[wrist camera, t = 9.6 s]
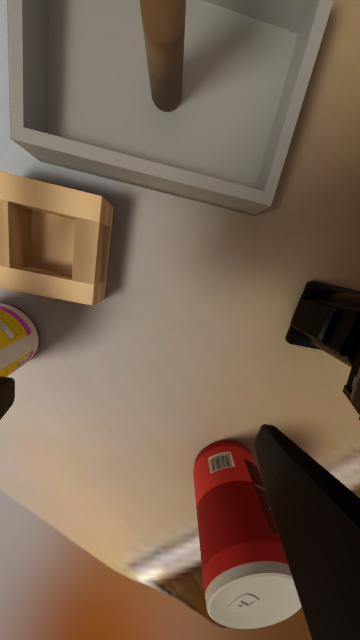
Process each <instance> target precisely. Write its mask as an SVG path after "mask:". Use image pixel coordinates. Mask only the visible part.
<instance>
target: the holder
mask: <svg viewBox="0 0 360 640" xmlns="http://www.w3.org/2000/svg"><path fill="white" fill-rule="evenodd" d="M113 213H114V207H113V206H112V205H111V204H110V203H109V202H108V201H106V200H105V199H104V198H103V197H102V196H99V195H95V194H91V193H87V192H83V191H79V190H75V189H70V188H66V187H62V186H58V185H54V184H50V183H46V182H42V181H38V180H34V179H29V178H25V177H21V176H17V175H13V174H9V173H5V172H1V171H0V288H4V289H9V290H14V291H19V292H25V293H30V294H35V295H40V296H45V297H51V298H56V299H61V300H66V301H71V302H77V303H82V304H87V305H94V304H96V303H98V302H99V301H101V300H103V299H104V298H105V289H106V279H107V270H108V260H109V251H110V241H111V232H112V222H113Z"/></svg>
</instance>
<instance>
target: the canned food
mask: <svg viewBox="0 0 360 640" xmlns="http://www.w3.org/2000/svg"><path fill="white" fill-rule="evenodd" d="M193 474H194V485H195V496H196V507H197V518H198V529H199V540H200V550H201V561H202V572H203V581H204V590H205V600H206V603H207V611H208V614H209V616H210V617H211V618H212V619H213V620H215V621H216V622H218V623H219V624H222V625H224V626H227V627H231V628H239V629H252V628H260V627H265V626H269V625H272V624H275V623H278V622H280V621H283V620H285V619H286V618H288V617H290V616H292V615H293V614H294V613H296V612H297V611H298V610H299V609H300V607H302V606H301V603H300V600H299V597H298V594H297V591H296V587H295V584H294V581H293V578H292V575H291V572H290V569H289V565H288V562H287V559H286V556H285V553H284V550H283V547H282V544H281V540H280V537H279V534H278V531H277V528H276V525H275V522H274V518H273V515H272V512H271V509H270V506H269V503H268V499H267V496H266V492H265V488H264V484H263V480H262V477H261V475H260V472H259V470H258V467H257V465H256V463H255V460H254V458H253V456H252V455H251V453H250V452H249V451H248V450H247V449H246V448H245V447H244V446H243V445H241V444H239V443H236V442H230V441H224V442H218V443H214V444H212V445H210V446H208V447H206V448H205V449H203V450H202V451H201V452H200V453H199V455H198V456H197V458H196V460H195V465H194V470H193Z"/></svg>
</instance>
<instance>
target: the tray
mask: <svg viewBox="0 0 360 640" xmlns="http://www.w3.org/2000/svg"><path fill="white" fill-rule="evenodd" d="M333 2H334V0H186V17H185V38H184V59H183V80H182V97H181V101H180V103H179V105H178V106H177V108H175V109H174V110H172V111H170V112H165V111H162V110H160V109H159V108H157V107H156V105H155V104H154V102H153V99H152V95H151V88H150V80H149V72H148V64H147V56H146V48H145V40H144V32H143V24H142V16H141V8H140V0H7V21H8V60H9V100H10V139H12V140H13V141H14V142H16V143H17V144H18V145H20V146H21V147H22V148H23V149H25V150H26V151H27V152H29V153H30V154H31V155H33V156H34V157H35V158H37V159H38V160H39V161H41V162H45V163H49V164H53V165H57V166H61V167H65V168H69V169H73V170H77V171H80V172H84V173H88V174H92V175H96V176H100V177H104V178H108V179H112V180H116V181H120V182H124V183H128V184H132V185H136V186H140V187H144V188H148V189H152V190H156V191H160V192H164V193H168V194H171V195H175V196H179V197H183V198H187V199H191V200H195V201H199V202H203V203H207V204H211V205H215V206H219V207H223V208H227V209H231V210H235V211H239V212H243V213H247V214H251V215H256V214H258V213H260V212H262V211H264V210H265V209H267V208H269V207H271V205H272V202H273V198H274V195H275V192H276V189H277V185H278V182H279V179H280V175H281V172H282V169H283V166H284V162H285V159H286V156H287V152H288V149H289V146H290V143H291V139H292V136H293V133H294V129H295V126H296V123H297V120H298V116H299V113H300V110H301V106H302V103H303V100H304V97H305V93H306V90H307V87H308V84H309V80H310V77H311V74H312V70H313V67H314V64H315V61H316V57H317V54H318V51H319V47H320V44H321V41H322V38H323V34H324V31H325V28H326V24H327V21H328V18H329V15H330V11H331V8H332V5H333Z"/></svg>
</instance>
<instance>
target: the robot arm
mask: <svg viewBox="0 0 360 640" xmlns="http://www.w3.org/2000/svg"><path fill="white" fill-rule="evenodd" d="M312 285H313V288H311V286H312ZM292 337H293V339H292V340H290V339H291V338H292ZM286 341H287V342H288V343H290V344H294V345H299V346H304V347H309V348H314V349H320V350H323V351H325V352H326V353H328V354H330V355H331V356H333V357H335V358H336V359H338V360H340V361H341V362H343V363H345V364H347V365H348V366H350V367H352V368H351V371H350V375H349V378H348V381H347V384H346V385H344V388H343V392H344V394H345V395H346V397H347V398H348V399H349V401H350V402H351V404H352V405H353V407H354V408H355V409H356V411H357V412H358V414H359V415H360V291H356V290H351V289H347V288H343V287H338V286H334V285H329V284H325V283H320V282H316V281H310V282H308V283H307V284H306V286H305V289H304V292H303V294H302V297H301V299H300V301H299V303H298V306H297V308H296V311H295V313H294V316H293V319H292V321H291V325H290V328H289V330H288V333H287V335H286ZM14 398H15V381H14V379H13V378H9V377H4V376H0V420H1V418H2V417H3V416H4V415H5V413H6V412H7V411H8V409H9V408H10V407H11V406H12V404H13V402H14ZM359 420H360V417H359ZM255 450H256V454H257V459H258V463H259V467H260V472H261V476H262V480H263V484H264V488H265V492H266V496H267V499H268V503H269V506H270V509H271V512H272V515H273V518H274V522H275V525H276V528H277V531H278V534H279V537H280V540H281V544H282V547H283V550H284V553H285V556H286V559H287V562H288V565H289V569H290V572H291V575H292V578H293V581H294V584H295V587H296V591H297V594H298V597H299V600H300V603H301V606H302V609H303V612H304V616H305V619H306V622H307V625H308V628H309V631H310V634H311V638H312V640H360V498H359V497H358V496H356V495H355V494H354V493H353V492H352V491H350V490H349V489H348V488H347V487H346V486H345V485H343V484H342V483H341V482H340V481H339V480H337V479H336V478H335V477H334V476H333V475H332V474H330V473H329V472H328V471H327V470H326V469H324V468H323V467H322V466H321V465H320V464H319V463H317V462H316V461H315V460H314V459H313V458H312V457H310V456H309V455H308V454H307V453H306V452H304V451H303V450H302V449H301V448H300V447H299V446H297V445H296V444H295V443H294V442H293V441H291V440H290V439H289V438H288V437H287V436H286V435H284V434H283V433H282V432H281V431H280V430H278V429H277V428H276V427H275V426H272V425H267V424H263V425H262V426H261V428H260V430H259V432H258V435H257V437H256V439H255Z"/></svg>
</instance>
